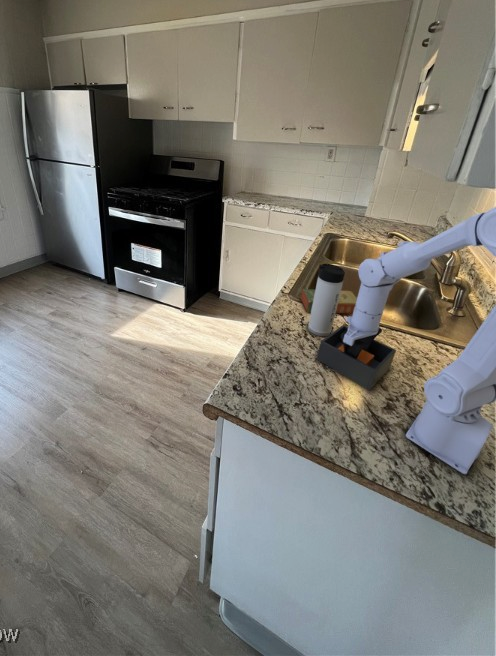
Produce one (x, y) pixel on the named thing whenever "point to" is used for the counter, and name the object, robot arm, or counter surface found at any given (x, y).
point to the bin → (352, 366)
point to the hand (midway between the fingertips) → (354, 356)
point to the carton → (344, 303)
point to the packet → (362, 356)
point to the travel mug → (326, 299)
